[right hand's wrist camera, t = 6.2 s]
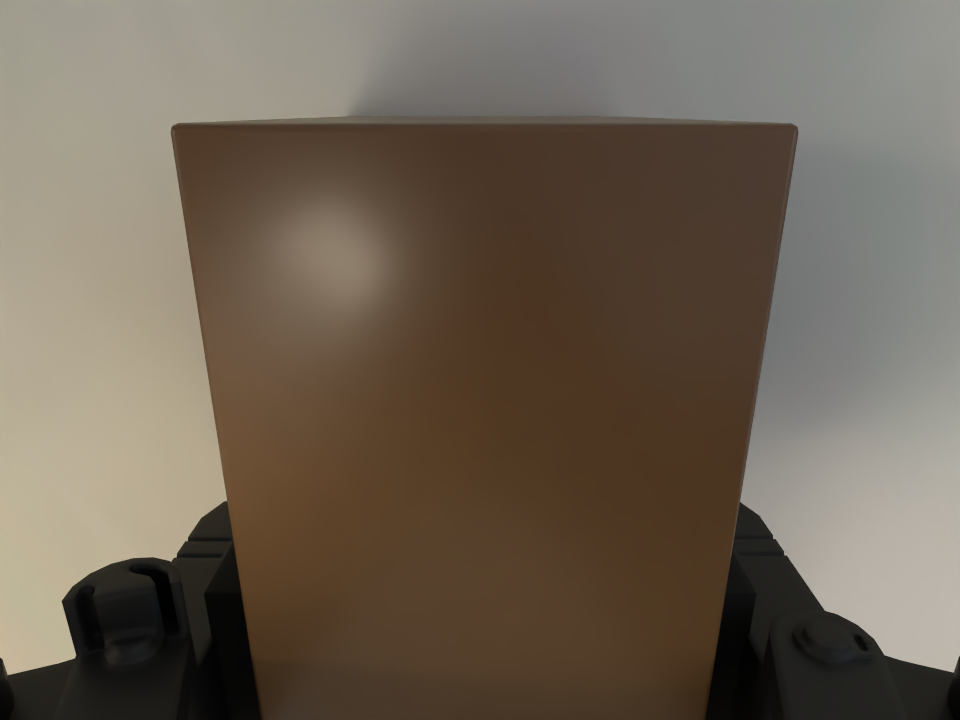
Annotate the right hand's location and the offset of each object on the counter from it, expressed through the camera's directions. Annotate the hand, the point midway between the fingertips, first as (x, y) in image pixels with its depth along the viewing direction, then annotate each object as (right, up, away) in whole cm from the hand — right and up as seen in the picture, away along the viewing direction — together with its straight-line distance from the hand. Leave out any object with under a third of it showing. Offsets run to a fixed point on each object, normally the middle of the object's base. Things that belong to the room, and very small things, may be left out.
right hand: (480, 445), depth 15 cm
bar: (0, -19, +8) cm, 21 cm away
